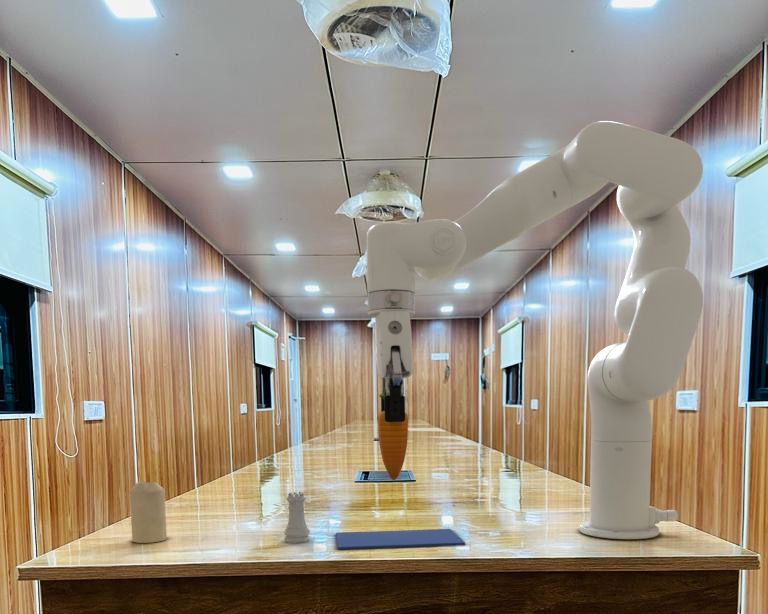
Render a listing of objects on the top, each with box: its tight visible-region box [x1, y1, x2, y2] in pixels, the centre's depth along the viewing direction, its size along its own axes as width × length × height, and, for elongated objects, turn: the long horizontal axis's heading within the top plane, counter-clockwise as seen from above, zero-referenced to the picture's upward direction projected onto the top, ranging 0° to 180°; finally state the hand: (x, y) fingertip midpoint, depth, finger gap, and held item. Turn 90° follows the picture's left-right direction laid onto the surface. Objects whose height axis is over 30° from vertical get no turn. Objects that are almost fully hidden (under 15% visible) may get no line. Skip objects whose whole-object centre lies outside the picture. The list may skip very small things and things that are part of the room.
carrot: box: [377, 393, 409, 481], centre depth 106 cm, size 5×5×15 cm
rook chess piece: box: [283, 491, 312, 544], centre depth 108 cm, size 4×4×8 cm
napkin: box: [335, 528, 466, 551], centre depth 108 cm, size 20×12×1 cm, turn 96°
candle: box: [129, 480, 168, 544], centre depth 111 cm, size 6×6×10 cm
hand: (393, 420), depth 106 cm, fingers closed on carrot, 4 cm apart
